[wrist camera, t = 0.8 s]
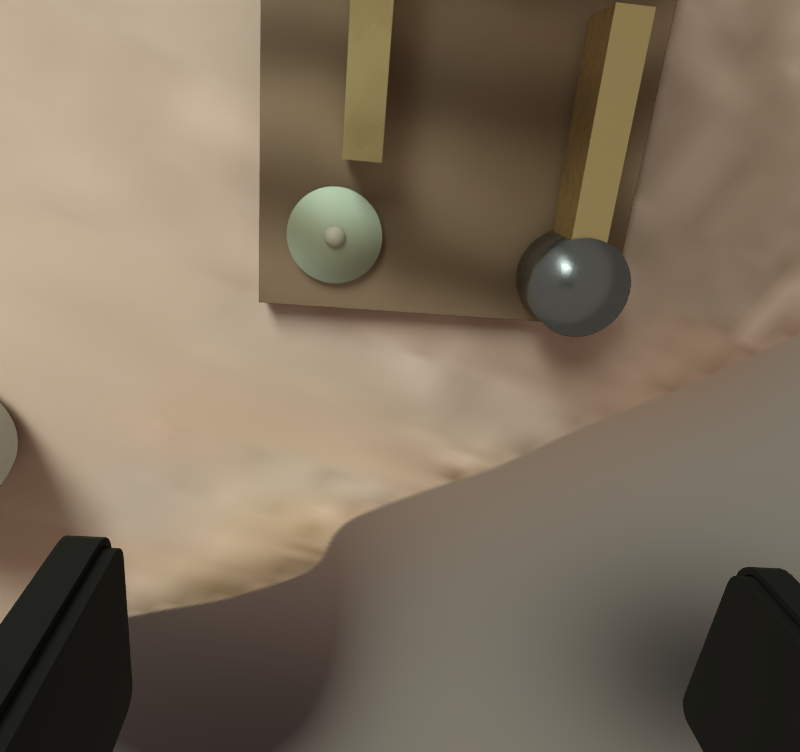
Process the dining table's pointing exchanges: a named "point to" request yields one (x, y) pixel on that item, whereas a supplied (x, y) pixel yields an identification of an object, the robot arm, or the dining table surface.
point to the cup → (7, 443)
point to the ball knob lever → (367, 79)
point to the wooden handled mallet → (591, 183)
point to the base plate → (427, 152)
